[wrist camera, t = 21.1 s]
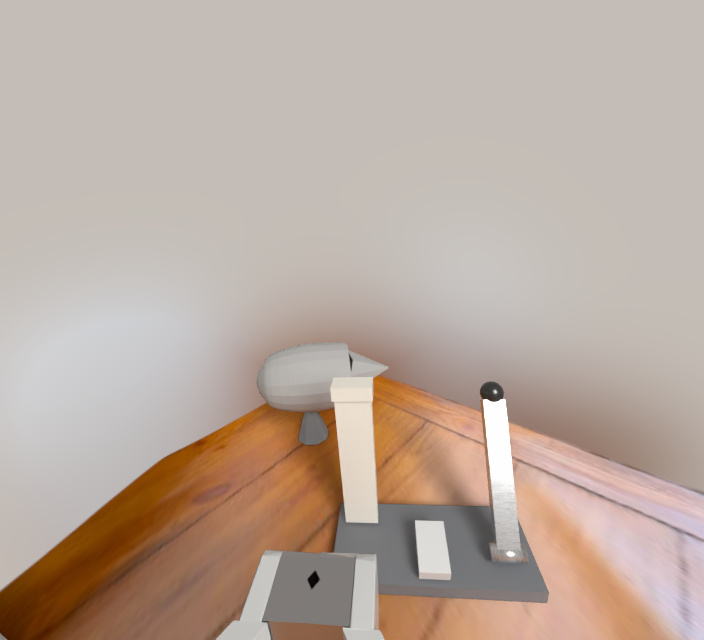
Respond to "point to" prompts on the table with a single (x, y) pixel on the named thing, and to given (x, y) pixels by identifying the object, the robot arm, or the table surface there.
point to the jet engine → (310, 381)
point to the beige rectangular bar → (356, 446)
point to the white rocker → (432, 550)
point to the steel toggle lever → (500, 479)
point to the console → (463, 549)
